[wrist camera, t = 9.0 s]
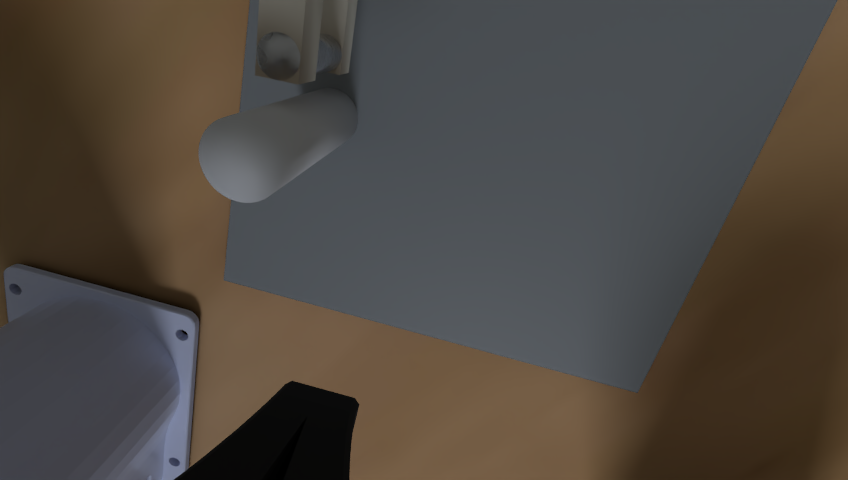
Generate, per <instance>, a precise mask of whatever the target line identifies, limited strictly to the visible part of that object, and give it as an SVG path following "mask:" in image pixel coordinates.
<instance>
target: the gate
mask: <svg viewBox="0 0 848 480" xmlns="http://www.w3.org/2000/svg"><path fill="white" fill-rule="evenodd" d="M357 2H358V0H259V12H258V29H257V47H256V65H255V76H260V77H265V78H270V79H274V80H279V81H284V82H288V83H293V84H298V85H299V84H303V83H307V82H312V81H315V78H316V74H318V73H323V72H328V73H333V74H337V75H342V74H346V73H349V65H350V57H351V49H352V41H353V33H354V25H355V18H356V10H357Z"/></svg>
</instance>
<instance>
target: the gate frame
mask: <svg viewBox="0 0 848 480" xmlns="http://www.w3.org/2000/svg"><path fill="white" fill-rule="evenodd" d="M836 2H837V0H358V2H357V10H356V18H355V25H354V33H353V41H352V49H351V57H350V65H349V73H346V74H342V75H337V74H333V73H328V72H323V73H318V74H316V78H315V81H312V82H307V83H303V84H299V85H298V84H293V83H288V82H284V81H279V80H274V79H270V78H265V77H260V76H255V65H256V47H257V29H258V12H259V0H250V6H249V16H248V27H247V38H246V48H245V59H244V70H243V81H242V91H241V102H240V113H237V114H234V115H230V116H227V117H223V118H221V119H218V120H216V121H215V122H213V123H212V124H211V125H210V126H209V127H208V128H207V129H206V130H205V132H204V133H203V135H202V138H201V140H200V144H199V161H200V165H201V168H202V171H203V173H204V175H205V177H206V178H207V180H208V181H209V183H210V184H211V185H212V186H213V187H214V188H215V189H216V190H217V191H218V192H219V193H221V194H222V195H224V196H225V197H227V198H229V199H231V209H230V220H229V230H228V241H227V252H226V263H225V273H224V280H225V281H228V282H232V283H236V284H239V285H243V286H247V287H250V288H254V289H258V290H262V291H265V292H269V293H273V294H276V295H280V296H284V297H287V298H291V299H295V300H298V301H302V302H306V303H309V304H313V305H317V306H320V307H324V308H328V309H331V310H335V311H339V312H342V313H346V314H350V315H353V316H357V317H361V318H364V319H368V320H372V321H375V322H379V323H383V324H386V325H390V326H394V327H397V328H401V329H405V330H408V331H412V332H416V333H419V334H423V335H427V336H430V337H434V338H438V339H441V340H445V341H449V342H452V343H456V344H460V345H463V346H467V347H471V348H474V349H478V350H482V351H485V352H489V353H493V354H496V355H500V356H504V357H507V358H511V359H515V360H518V361H522V362H526V363H529V364H533V365H537V366H540V367H544V368H548V369H551V370H555V371H559V372H562V373H566V374H570V375H573V376H577V377H581V378H584V379H588V380H592V381H595V382H599V383H603V384H607V385H610V386H614V387H618V388H621V389H625V390H629V391H632V392H636V393H638V391H639V389H640V387H641V385H642V383H643V381H644V379H645V377H646V375H647V373H648V371H649V369H650V367H651V365H652V363H653V361H654V359H655V357H656V355H657V353H658V352H659V350H660V348H661V346H662V344H663V342H664V340H665V338H666V336H667V334H668V332H669V330H670V328H671V326H672V324H673V322H674V320H675V318H676V316H677V314H678V312H679V310H680V308H681V306H682V304H683V302H684V300H685V299H686V297H687V295H688V293H689V291H690V289H691V287H692V285H693V283H694V281H695V279H696V277H697V275H698V273H699V271H700V269H701V267H702V265H703V263H704V261H705V259H706V257H707V255H708V253H709V251H710V249H711V247H712V245H713V244H714V242H715V240H716V238H717V236H718V234H719V232H720V230H721V228H722V226H723V224H724V222H725V220H726V218H727V216H728V214H729V212H730V210H731V208H732V206H733V204H734V202H735V200H736V198H737V196H738V194H739V192H740V190H741V189H742V187H743V185H744V183H745V181H746V179H747V177H748V175H749V173H750V171H751V169H752V167H753V165H754V163H755V161H756V159H757V157H758V155H759V153H760V151H761V149H762V147H763V145H764V143H765V141H766V139H767V137H768V135H769V134H770V132H771V130H772V128H773V126H774V124H775V122H776V120H777V118H778V116H779V114H780V112H781V110H782V108H783V106H784V104H785V102H786V100H787V98H788V96H789V94H790V92H791V90H792V88H793V86H794V84H795V82H796V80H797V79H798V77H799V75H800V73H801V71H802V69H803V67H804V65H805V63H806V61H807V59H808V57H809V55H810V53H811V51H812V49H813V47H814V45H815V43H816V41H817V39H818V37H819V35H820V33H821V31H822V29H823V27H824V26H825V24H826V22H827V20H828V18H829V16H830V14H831V12H832V10H833V8H834V6H835V4H836Z"/></svg>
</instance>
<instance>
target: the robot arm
mask: <svg viewBox="0 0 848 480" xmlns="http://www.w3.org/2000/svg"><path fill="white" fill-rule="evenodd" d="M4 283H5V293H6V303H7V313H8V324H6V325H4V326H2V327H1V328H0V480H349V470H350V452H351V440H352V432H353V428H354V424H355V420H356V416H357V412H358V407H359V404H358V402H357V401H356V399H355V398H352V397H349V396H345V395H342V394H338V393H334V392H331V391H327V390H323V389H320V388H316V387H313V386H309V385H305V384H302V383H298V382H294V381H291V382H289V383H287V384H285V385H284V386H283V387H282V388H281V389H280V390H279V391H278V392H277V393H276V394H275V395H274V396H273V397H272V398H271V399H270V400H269V401H268V402H267V403H266V404H265V405H264V406H263V407H261V408H260V409H259V410H258V411H257V412H256V413H255V414H254V415H253V416H252V417H250V418H249V419H248V420H247V421H246V422H245V423H244V424H242V425H241V426H240V427H239V428H238V429H237V430H236V431H234V432H233V433H232V434H231V435H230V436H228V437H227V438H226V439H225V440H224V441H222V442H221V443H220V444H219V445H217V446H216V447H215V448H214V449H213V450H211V451H210V452H209V453H208V454H207V455H205V456H204V457H203V458H202V459H200V460H199V461H198V462H197V463H195V464H194V465H193V466H191V467H190V468H189V469H188V467H189V454H190V441H191V427H192V414H193V400H194V387H195V374H196V360H197V347H198V333H199V319H198V317H197V316H196V315H195V314H194V313H193V312H192V311H189V310H187V309H183V308H179V307H176V306H172V305H168V304H165V303H161V302H158V301H154V300H150V299H147V298H143V297H139V296H136V295H132V294H128V293H125V292H121V291H117V290H114V289H110V288H106V287H103V286H99V285H95V284H92V283H88V282H85V281H81V280H77V279H74V278H70V277H66V276H63V275H59V274H55V273H52V272H48V271H44V270H41V269H37V268H33V267H30V266H26V265H22V264H14V265H12V266H10V267H8V268H6V269H5V271H4ZM182 330H184V331H186V333H187V334H188V335H185V334H184V333H183V332H182Z"/></svg>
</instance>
